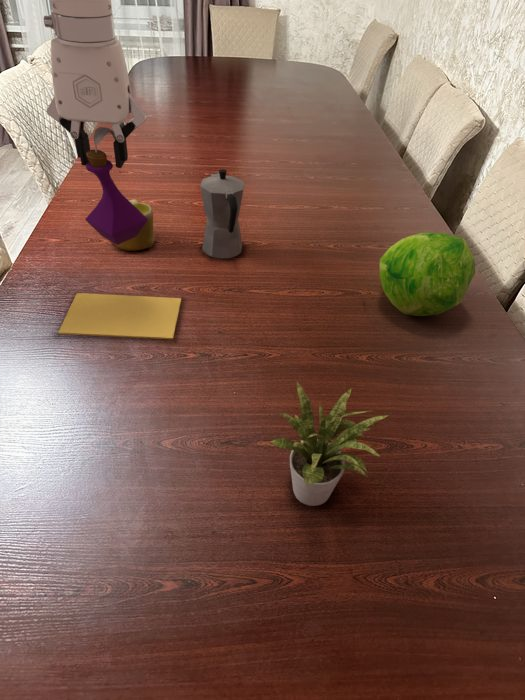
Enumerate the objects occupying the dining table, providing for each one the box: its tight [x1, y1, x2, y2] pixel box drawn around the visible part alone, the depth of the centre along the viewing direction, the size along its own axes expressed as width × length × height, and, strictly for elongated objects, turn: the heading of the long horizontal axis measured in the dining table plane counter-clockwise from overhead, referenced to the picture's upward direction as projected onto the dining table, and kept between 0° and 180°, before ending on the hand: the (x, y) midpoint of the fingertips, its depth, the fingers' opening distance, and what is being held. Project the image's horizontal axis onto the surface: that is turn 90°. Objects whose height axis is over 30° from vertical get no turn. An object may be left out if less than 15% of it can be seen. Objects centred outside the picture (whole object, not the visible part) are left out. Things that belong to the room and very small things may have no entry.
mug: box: [115, 199, 155, 252], centre depth 114 cm, size 12×10×10 cm
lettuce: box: [379, 232, 476, 317], centre depth 99 cm, size 17×20×16 cm
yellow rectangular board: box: [57, 292, 182, 340], centre depth 96 cm, size 20×12×1 cm, turn 90°
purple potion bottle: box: [84, 126, 148, 246], centre depth 84 cm, size 8×8×18 cm
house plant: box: [269, 380, 390, 507], centre depth 64 cm, size 14×14×16 cm
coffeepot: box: [199, 168, 246, 260], centre depth 110 cm, size 15×9×18 cm, turn 19°
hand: (103, 162), depth 81 cm, fingers closed on purple potion bottle, 4 cm apart
